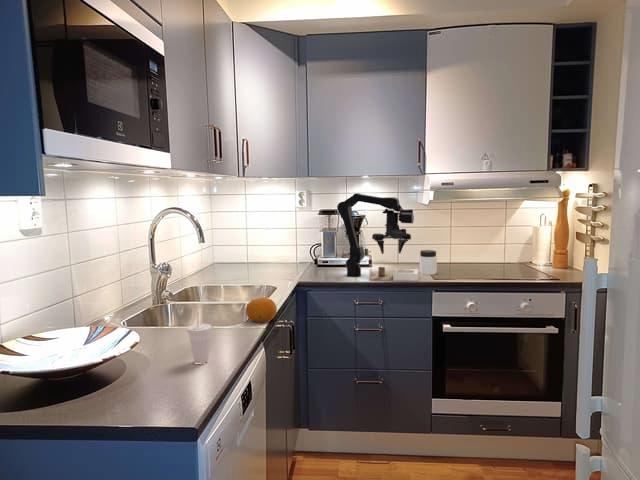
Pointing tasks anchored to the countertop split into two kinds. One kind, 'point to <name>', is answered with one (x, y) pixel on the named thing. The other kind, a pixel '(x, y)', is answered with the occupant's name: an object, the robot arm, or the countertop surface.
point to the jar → (428, 262)
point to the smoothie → (200, 341)
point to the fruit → (261, 309)
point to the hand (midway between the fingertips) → (391, 253)
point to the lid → (381, 275)
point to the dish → (405, 275)
